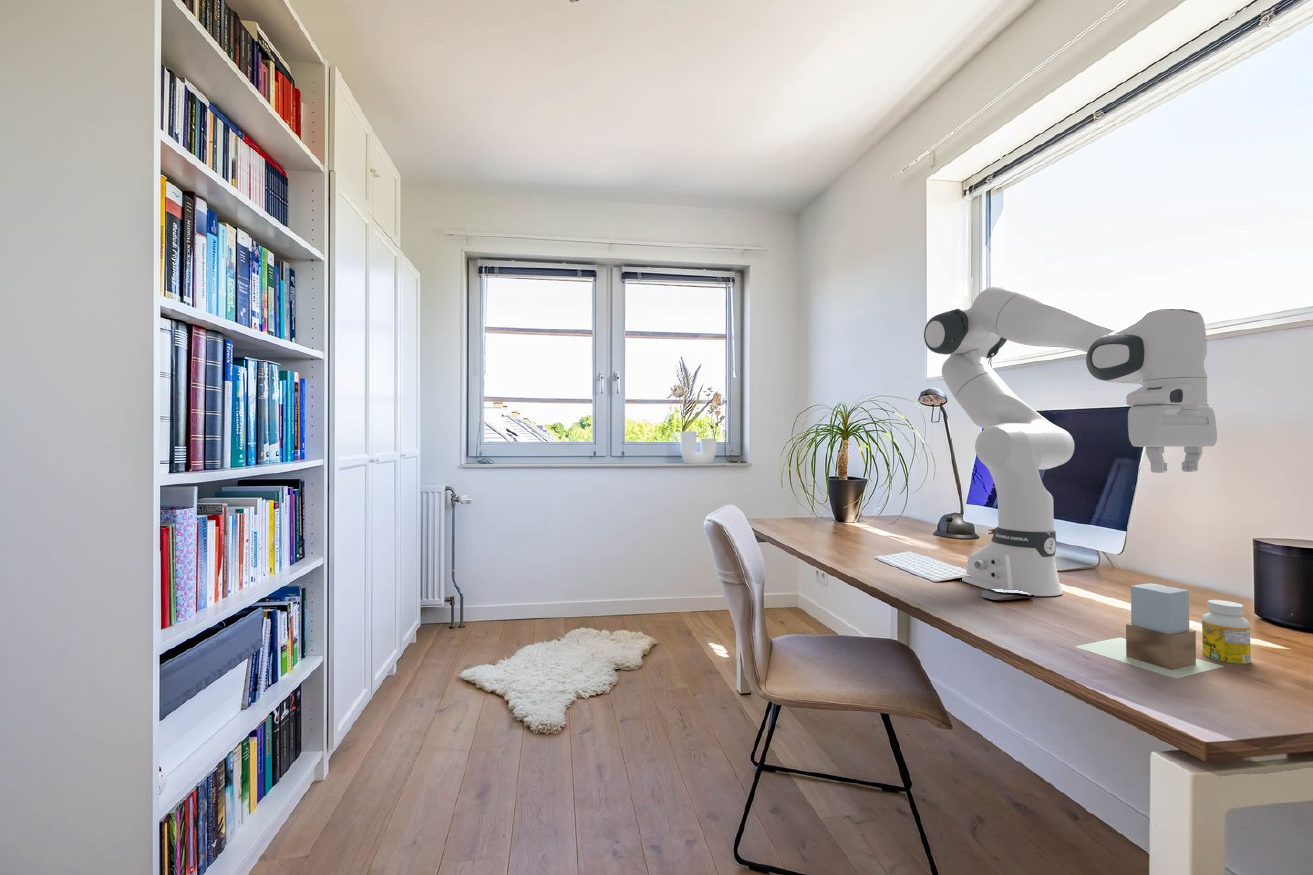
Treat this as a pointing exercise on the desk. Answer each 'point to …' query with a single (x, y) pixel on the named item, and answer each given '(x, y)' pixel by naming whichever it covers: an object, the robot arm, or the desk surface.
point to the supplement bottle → (1226, 633)
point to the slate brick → (1160, 608)
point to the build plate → (1118, 652)
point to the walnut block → (1161, 647)
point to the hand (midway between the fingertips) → (1174, 472)
